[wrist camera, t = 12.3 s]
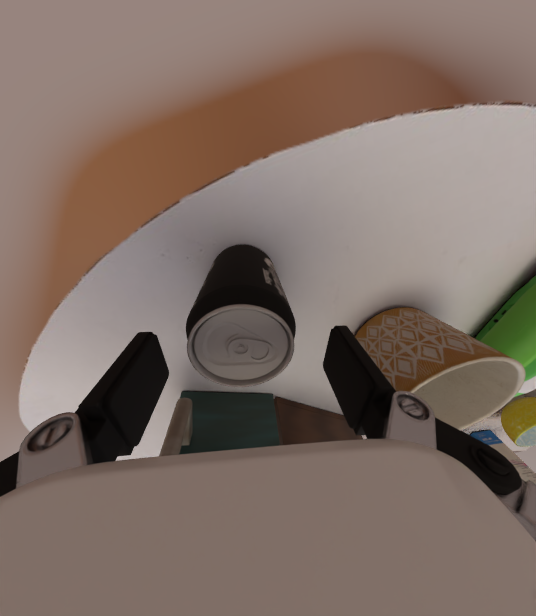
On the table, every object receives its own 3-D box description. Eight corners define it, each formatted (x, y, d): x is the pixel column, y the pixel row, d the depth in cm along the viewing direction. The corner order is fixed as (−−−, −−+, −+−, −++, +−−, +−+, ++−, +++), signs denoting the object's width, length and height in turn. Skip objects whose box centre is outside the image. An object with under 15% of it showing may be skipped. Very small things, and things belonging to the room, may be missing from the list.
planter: (328, 363, 29) (366, 437, 20) (373, 289, 23) (453, 347, 14) (396, 372, 32) (455, 442, 23) (450, 308, 26) (558, 368, 17)
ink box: (471, 431, 46) (556, 519, 34) (490, 429, 47) (580, 515, 34) (455, 448, 51) (524, 532, 38) (472, 446, 51) (547, 528, 39)
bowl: (503, 385, 37) (546, 416, 32) (553, 380, 38) (603, 410, 33) (471, 418, 43) (503, 449, 38) (516, 413, 44) (553, 443, 39)
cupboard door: (180, 357, 25) (84, 598, 10) (282, 364, 28) (326, 564, 13) (182, 395, 29) (113, 612, 14) (271, 397, 32) (296, 584, 16)
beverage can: (220, 233, 18) (188, 281, 8) (283, 255, 20) (323, 318, 10) (206, 292, 21) (170, 383, 11) (262, 307, 23) (276, 398, 13)
